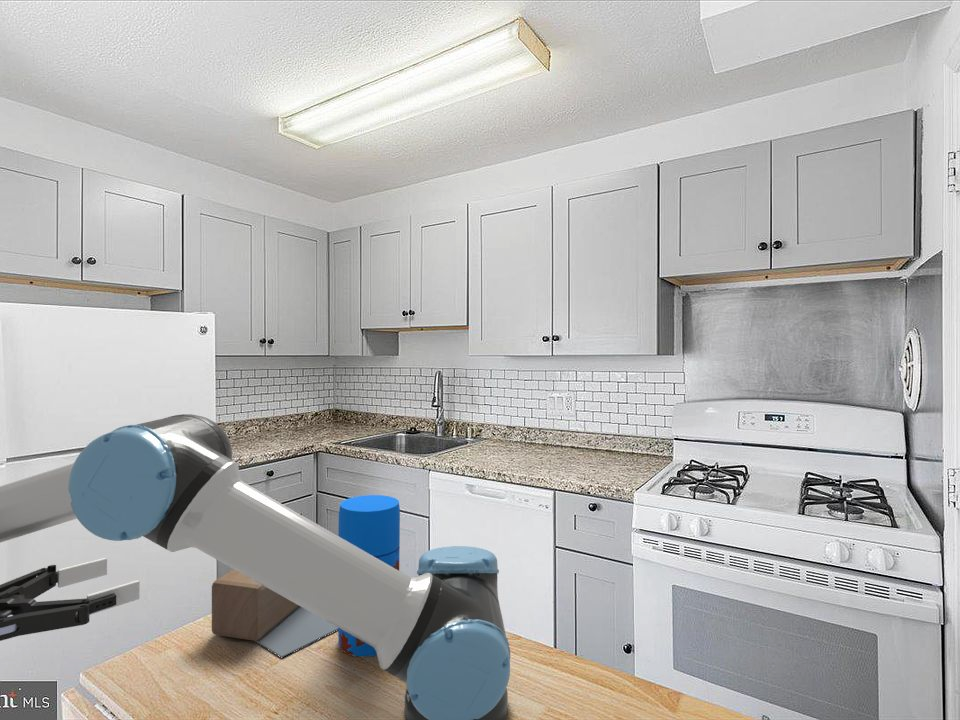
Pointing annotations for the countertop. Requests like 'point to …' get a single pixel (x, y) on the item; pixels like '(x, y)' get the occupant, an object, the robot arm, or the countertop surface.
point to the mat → (296, 632)
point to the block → (246, 607)
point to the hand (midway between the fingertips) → (121, 577)
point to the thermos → (369, 544)
